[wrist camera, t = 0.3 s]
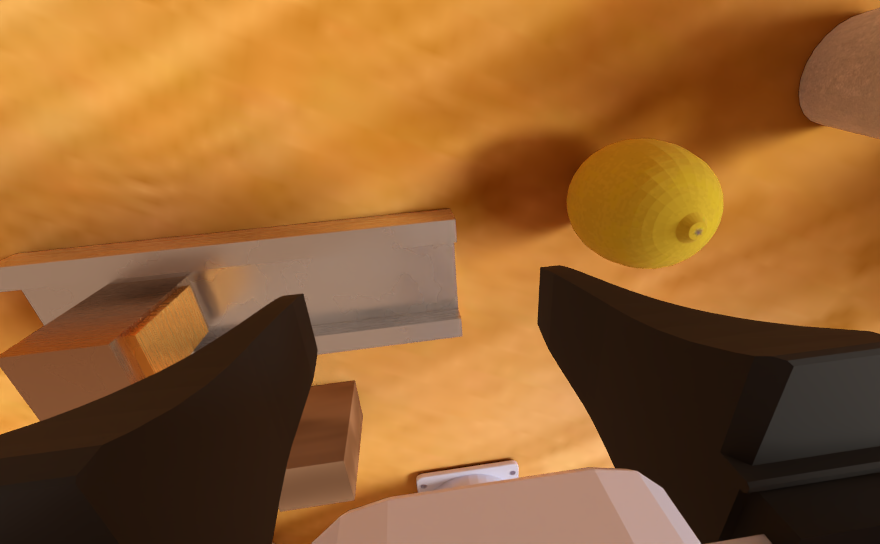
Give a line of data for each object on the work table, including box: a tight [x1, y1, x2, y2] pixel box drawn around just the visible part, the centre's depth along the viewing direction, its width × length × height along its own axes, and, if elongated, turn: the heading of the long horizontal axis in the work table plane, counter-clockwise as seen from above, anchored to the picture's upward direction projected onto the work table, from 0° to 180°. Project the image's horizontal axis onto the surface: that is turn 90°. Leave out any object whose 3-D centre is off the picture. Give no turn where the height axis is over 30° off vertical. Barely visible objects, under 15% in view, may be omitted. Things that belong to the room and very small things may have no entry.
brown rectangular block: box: [279, 381, 363, 512], centre depth 22 cm, size 3×4×6 cm
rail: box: [0, 209, 462, 421], centre depth 18 cm, size 7×22×7 cm, turn 94°
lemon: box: [566, 138, 723, 269], centre depth 17 cm, size 6×6×8 cm
